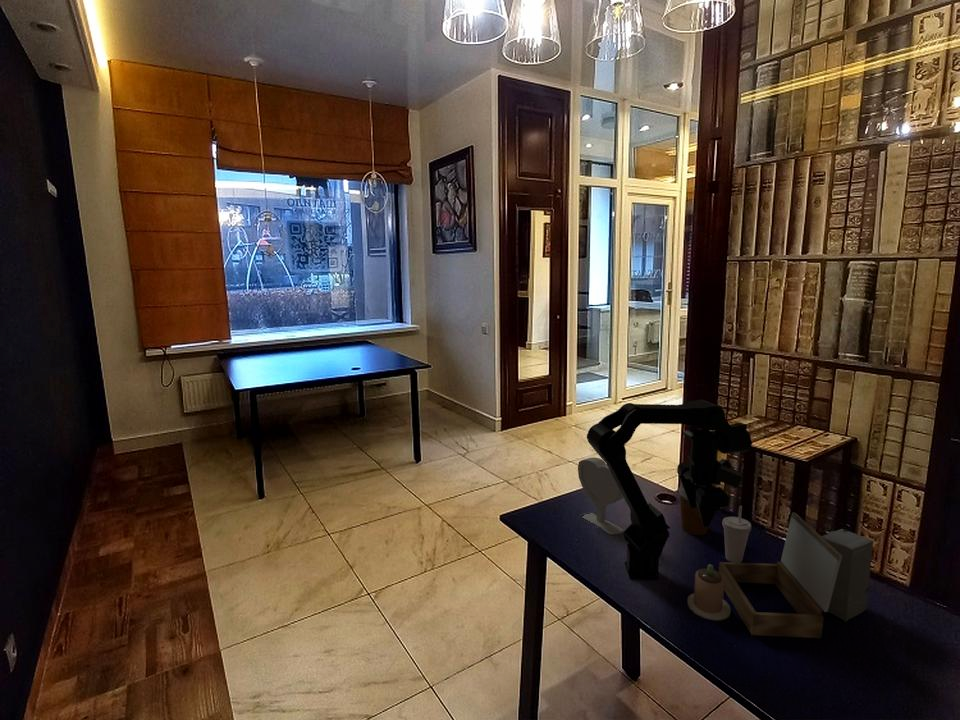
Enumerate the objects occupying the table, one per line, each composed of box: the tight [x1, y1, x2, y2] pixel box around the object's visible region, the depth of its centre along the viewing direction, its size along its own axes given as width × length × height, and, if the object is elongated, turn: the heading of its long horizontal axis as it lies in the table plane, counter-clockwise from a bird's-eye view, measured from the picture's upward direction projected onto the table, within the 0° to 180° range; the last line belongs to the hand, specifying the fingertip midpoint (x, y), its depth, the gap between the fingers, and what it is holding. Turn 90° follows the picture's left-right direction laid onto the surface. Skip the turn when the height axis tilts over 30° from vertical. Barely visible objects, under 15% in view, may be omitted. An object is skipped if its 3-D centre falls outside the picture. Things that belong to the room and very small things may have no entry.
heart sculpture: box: [577, 457, 624, 535], centre depth 144 cm, size 16×5×18 cm, turn 34°
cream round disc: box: [686, 592, 732, 621], centre depth 110 cm, size 8×8×1 cm
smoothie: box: [721, 505, 752, 563], centre depth 126 cm, size 6×6×14 cm
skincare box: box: [815, 528, 874, 622], centre depth 108 cm, size 8×7×16 cm
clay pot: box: [693, 563, 725, 613], centre depth 109 cm, size 6×6×9 cm
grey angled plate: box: [780, 512, 843, 613], centre depth 107 cm, size 12×17×1 cm
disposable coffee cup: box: [678, 483, 709, 536], centre depth 140 cm, size 10×10×12 cm
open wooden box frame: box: [718, 561, 825, 639], centre depth 108 cm, size 16×18×12 cm
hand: (699, 516), depth 123 cm, fingers open, 9 cm apart
